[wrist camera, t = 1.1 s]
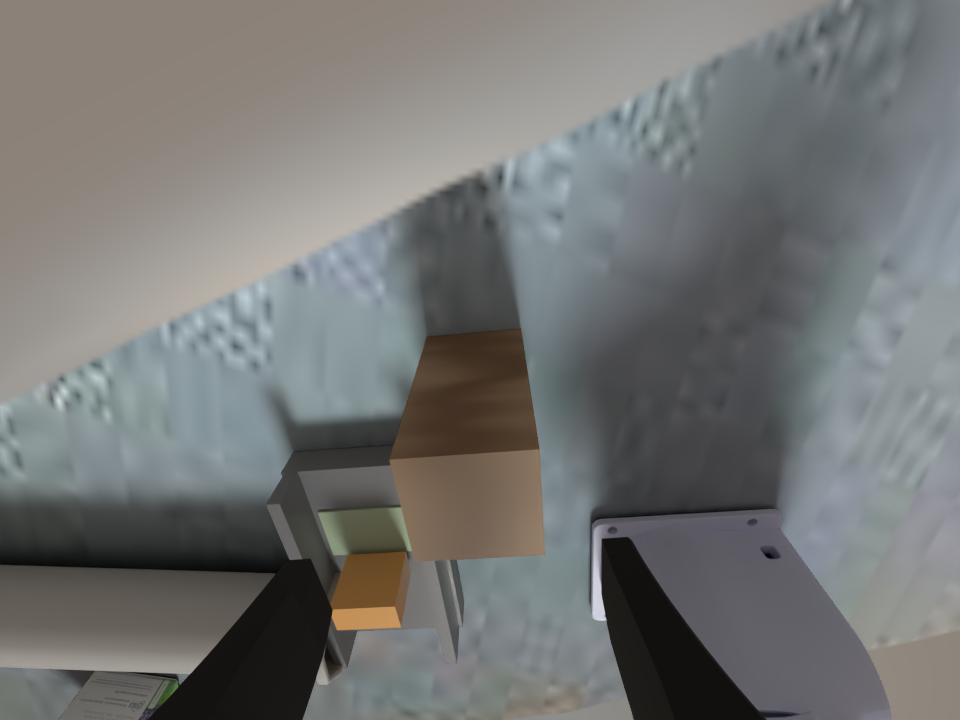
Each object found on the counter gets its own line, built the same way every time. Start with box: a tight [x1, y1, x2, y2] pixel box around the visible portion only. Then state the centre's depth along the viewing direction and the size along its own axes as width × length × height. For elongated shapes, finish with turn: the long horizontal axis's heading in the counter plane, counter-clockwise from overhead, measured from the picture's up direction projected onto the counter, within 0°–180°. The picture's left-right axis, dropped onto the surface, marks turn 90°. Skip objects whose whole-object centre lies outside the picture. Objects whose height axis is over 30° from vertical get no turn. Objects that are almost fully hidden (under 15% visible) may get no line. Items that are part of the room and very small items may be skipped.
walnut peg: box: [389, 329, 545, 562], centre depth 16 cm, size 4×4×8 cm
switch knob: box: [331, 552, 411, 630], centre depth 22 cm, size 2×3×3 cm, turn 96°
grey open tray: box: [266, 445, 464, 668], centre depth 23 cm, size 12×7×4 cm, turn 6°
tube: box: [0, 565, 343, 685], centre depth 24 cm, size 5×5×25 cm
